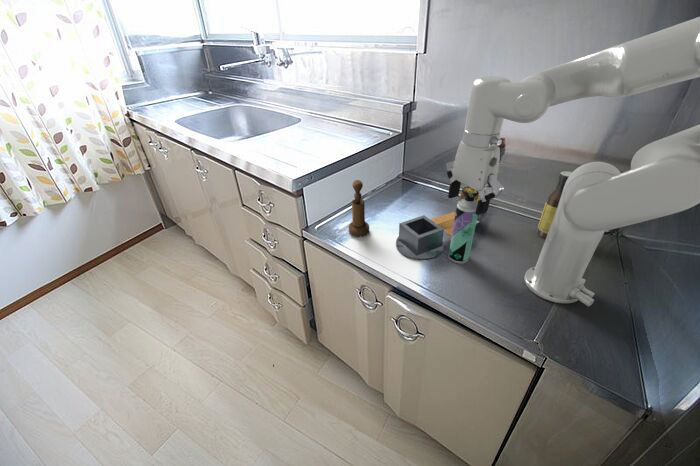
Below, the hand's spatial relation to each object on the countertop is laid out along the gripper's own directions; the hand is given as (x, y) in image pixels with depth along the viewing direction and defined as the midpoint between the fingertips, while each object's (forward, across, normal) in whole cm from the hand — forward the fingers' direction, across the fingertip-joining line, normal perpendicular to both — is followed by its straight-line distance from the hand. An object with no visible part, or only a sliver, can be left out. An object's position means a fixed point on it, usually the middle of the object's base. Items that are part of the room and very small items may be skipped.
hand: (466, 204), depth 81 cm
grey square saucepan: (+17, +9, +2) cm, 20 cm away
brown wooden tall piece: (+18, +25, +18) cm, 36 cm away
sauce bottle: (+17, -6, -31) cm, 36 cm away
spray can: (+17, -1, 0) cm, 17 cm away
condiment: (+17, +12, -14) cm, 26 cm away
